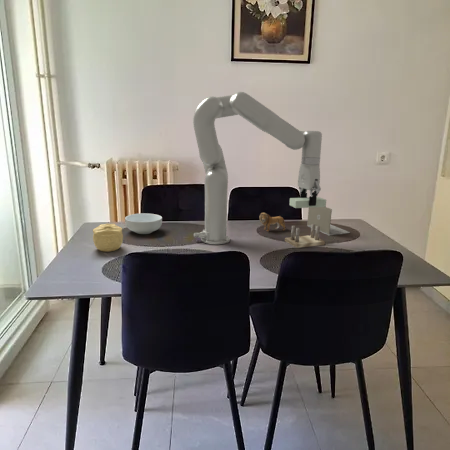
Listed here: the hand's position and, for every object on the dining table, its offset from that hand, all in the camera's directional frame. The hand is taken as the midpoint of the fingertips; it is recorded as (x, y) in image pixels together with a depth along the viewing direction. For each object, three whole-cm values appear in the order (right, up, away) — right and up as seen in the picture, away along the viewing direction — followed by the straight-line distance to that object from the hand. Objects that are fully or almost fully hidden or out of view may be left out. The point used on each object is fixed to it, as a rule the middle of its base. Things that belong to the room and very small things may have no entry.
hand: (307, 203), depth 169 cm
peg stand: (0, -17, +5) cm, 18 cm away
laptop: (+16, -12, +27) cm, 33 cm away
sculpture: (-82, -19, -9) cm, 85 cm away
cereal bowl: (-73, -13, +16) cm, 76 cm away
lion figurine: (-12, -12, +23) cm, 29 cm away
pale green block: (0, -1, 0) cm, 1 cm away
